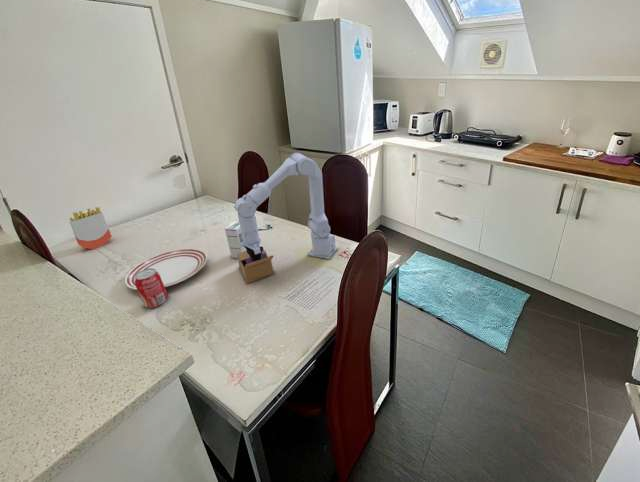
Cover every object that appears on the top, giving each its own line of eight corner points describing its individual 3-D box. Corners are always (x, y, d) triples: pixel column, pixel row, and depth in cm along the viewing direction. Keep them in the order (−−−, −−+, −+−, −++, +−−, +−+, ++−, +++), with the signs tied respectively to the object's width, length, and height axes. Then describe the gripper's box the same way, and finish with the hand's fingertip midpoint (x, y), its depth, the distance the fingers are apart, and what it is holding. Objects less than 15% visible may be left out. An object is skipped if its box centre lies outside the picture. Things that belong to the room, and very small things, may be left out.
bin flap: (270, 259, 118) (271, 260, 118) (244, 268, 113) (244, 269, 113) (272, 255, 113) (273, 256, 113) (245, 264, 108) (245, 265, 108)
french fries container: (80, 249, 139) (63, 212, 132) (109, 238, 147) (95, 203, 140) (84, 252, 137) (67, 215, 129) (113, 241, 145) (99, 206, 138)
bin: (273, 273, 121) (271, 259, 118) (247, 283, 116) (244, 268, 113) (264, 259, 129) (261, 246, 127) (239, 267, 124) (236, 253, 122)
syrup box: (243, 259, 130) (237, 228, 124) (231, 257, 131) (223, 227, 125) (251, 251, 135) (245, 222, 129) (239, 250, 136) (232, 221, 130)
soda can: (151, 296, 110) (140, 267, 105) (172, 294, 110) (162, 266, 105) (139, 310, 103) (127, 281, 98) (161, 308, 104) (150, 279, 99)
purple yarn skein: (264, 259, 122) (263, 252, 121) (267, 263, 119) (266, 257, 118) (246, 265, 118) (244, 259, 117) (249, 270, 116) (247, 263, 114)
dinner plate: (117, 276, 120) (114, 269, 119) (192, 246, 139) (190, 240, 138) (140, 308, 104) (137, 300, 103) (221, 269, 123) (219, 262, 122)
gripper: (233, 225, 116) (240, 256, 121) (242, 241, 105) (249, 274, 110) (252, 220, 120) (258, 250, 125) (264, 235, 109) (269, 267, 114)
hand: (255, 261), depth 118 cm, fingers closed on purple yarn skein, 3 cm apart
